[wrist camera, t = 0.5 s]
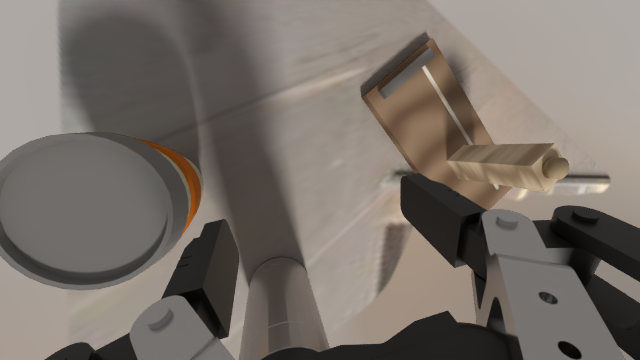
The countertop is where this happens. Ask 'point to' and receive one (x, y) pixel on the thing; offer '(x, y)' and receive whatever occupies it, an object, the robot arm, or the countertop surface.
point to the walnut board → (432, 121)
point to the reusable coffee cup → (93, 207)
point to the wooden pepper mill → (511, 165)
